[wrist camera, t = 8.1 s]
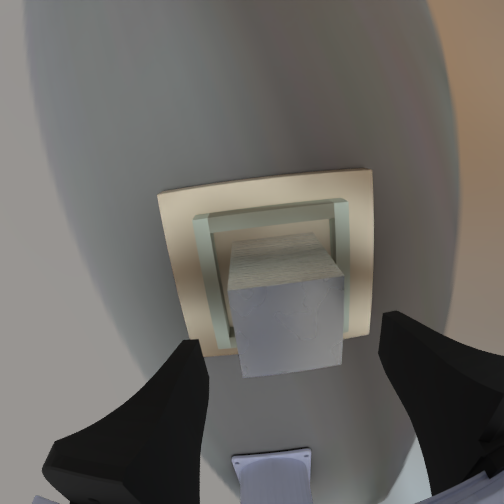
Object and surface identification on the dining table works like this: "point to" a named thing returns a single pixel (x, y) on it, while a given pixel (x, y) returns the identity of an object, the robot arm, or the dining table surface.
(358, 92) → the dining table surface
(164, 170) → the dining table surface
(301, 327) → the block
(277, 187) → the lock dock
